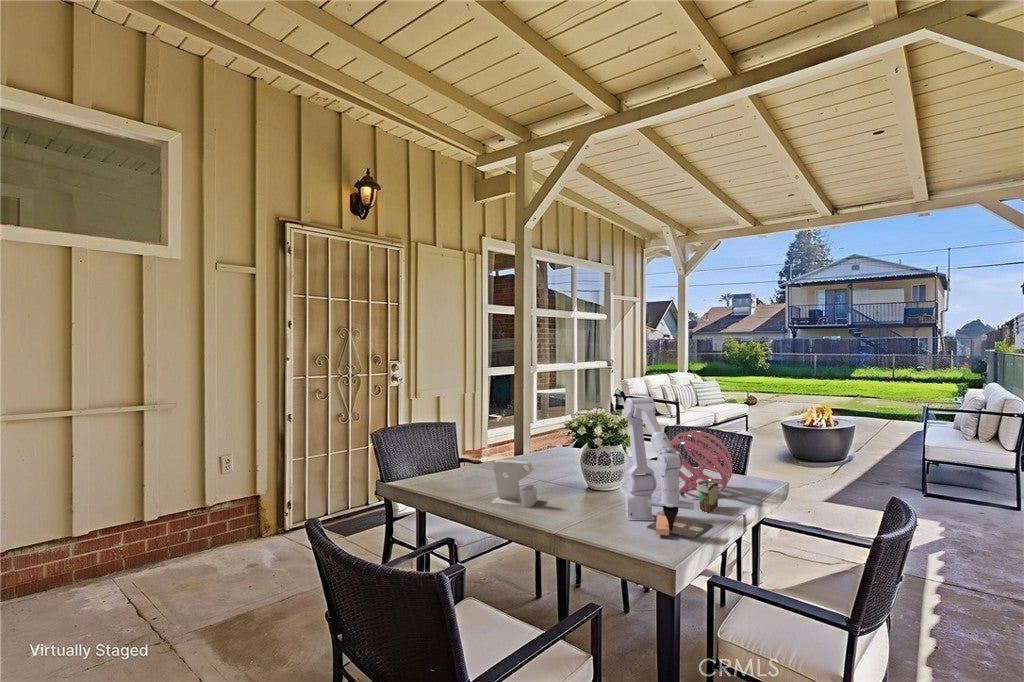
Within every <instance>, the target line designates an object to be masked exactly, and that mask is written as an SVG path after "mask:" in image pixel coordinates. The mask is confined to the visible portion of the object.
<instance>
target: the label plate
mask: <svg viewBox="0 0 1024 682" xmlns="http://www.w3.org/2000/svg"><path fill="white" fill-rule="evenodd" d="M656 523H657V520H655V521H654V522H651V523H650V524H649V525H647V526H646V529H649V530H654V531H656ZM710 527H711V528H712V527H713V524H711V523H708V522H702V521H699V520H694V519H690V518H684V517H680V516H676V518H675V521H674V524H673V530H670V528H669V535H673V534H674V536H677V535H678V537H681V536H682V537H683V538H685V537H686V538H685V539H689V538H691V539H690V540H693V539H694V540H695V539H696V538H698V537H700V536H701V535H702V534H704V533H705V532H706V531H708V530H710V529H711V528H710ZM703 532H704V533H703Z"/></svg>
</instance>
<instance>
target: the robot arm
mask: <svg viewBox="0 0 1024 682" xmlns="http://www.w3.org/2000/svg"><path fill="white" fill-rule="evenodd" d="M623 412H624V418H625V420H626V421H627V425H628V433H629V442H630V452H631V462H632V466H631V467H630V468H629V469H628V470H627V471H626V480H625V485H626V488H627V490H628V492H626V493H625V496H624V500H625V504H624V505H625V507H624V508H625V509H624V510H625V511H624V512H625V516H626V518H627V520H628V521H656V518H655V517H654V515H653V507H657V508H659V507H660V508H662V511H663V512H664V514H665V516H666V518H667V521H668V524H669V528H670V530H673V524H674V521H675V518H676V517H678V514H679V509H684V510H691V511H694V510H695V508H694V507H695V505H694V503H695V502H693V501H685V500H680V493H679V490H680V477H679V470H680V469H681V468H682V467H683V465H682V457H681V455H682V454H681V455H680V453H681V452H680V453H679V452H678V451H676V449H673V447H672V444H671V443H670V441H671V440H669V437H668V435H667V434H666V432H663V431H662V429H661V427H660V424H659V422H658V420H657V419H658V418H657V417H656V414H655V412H656V404H655V400H654V399H653V397H651V396H645V397H627V398H626V399H625V401H624V404H623ZM643 423H644V424H645V427H646V428H647V430H648V432H649V433H650V435H651V438H650V442H651V444H652V446H653V448H654V451H655V453H656V456H657V459H656V462H657V466H658V472H659V475H660V484H661V485H660V488H661V490H660V492H661V493H660V495H661V498H659V499H658V498H657V499H656V498H655V499H652V498H653V497H652V496H653V495H652V494H654V491H655V490H656V488H657V485H658V483H657V479H656V476H655V471H654V470H653V469H652V468H651V467H650V466H648V464H647V462H648V461H647V453H646V446H645V436H644V429H643Z"/></svg>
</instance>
